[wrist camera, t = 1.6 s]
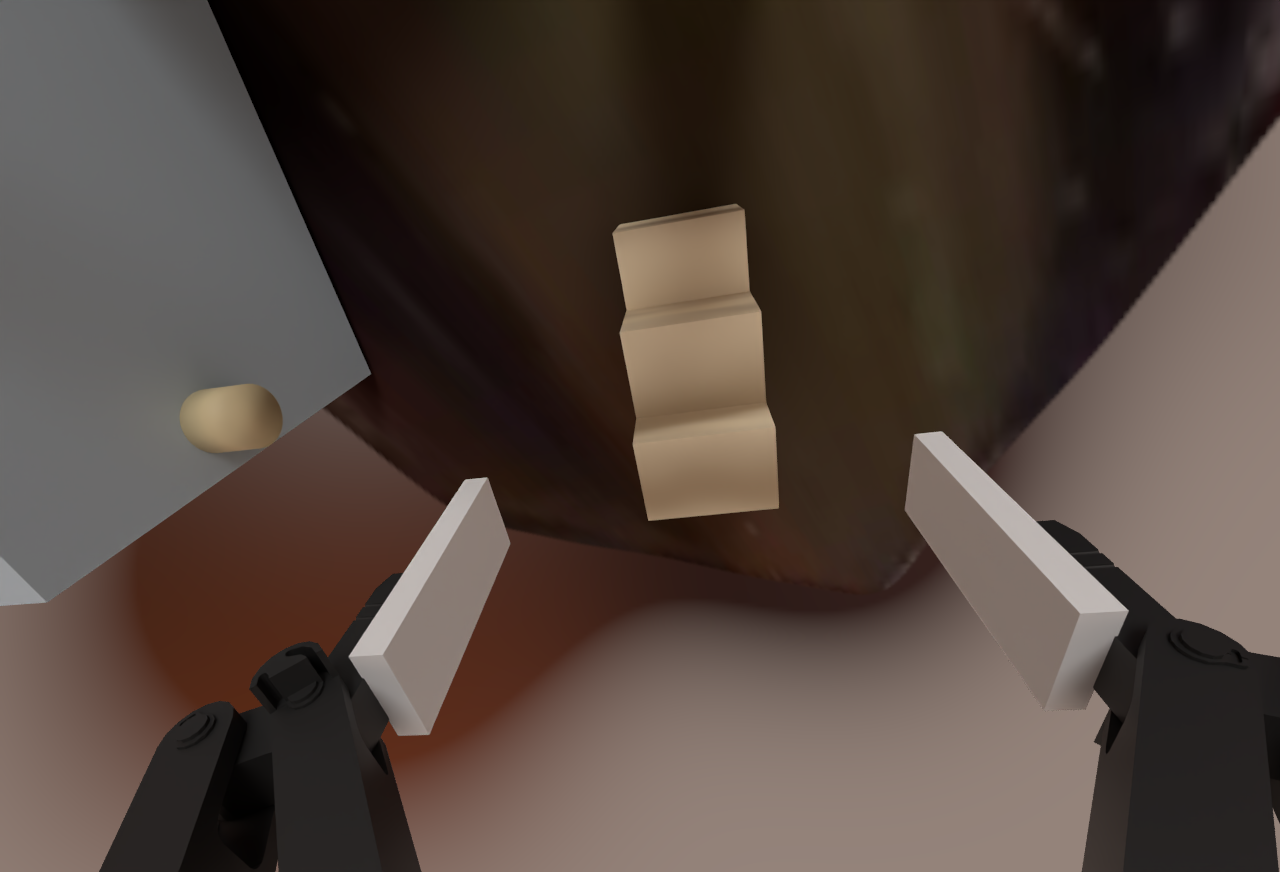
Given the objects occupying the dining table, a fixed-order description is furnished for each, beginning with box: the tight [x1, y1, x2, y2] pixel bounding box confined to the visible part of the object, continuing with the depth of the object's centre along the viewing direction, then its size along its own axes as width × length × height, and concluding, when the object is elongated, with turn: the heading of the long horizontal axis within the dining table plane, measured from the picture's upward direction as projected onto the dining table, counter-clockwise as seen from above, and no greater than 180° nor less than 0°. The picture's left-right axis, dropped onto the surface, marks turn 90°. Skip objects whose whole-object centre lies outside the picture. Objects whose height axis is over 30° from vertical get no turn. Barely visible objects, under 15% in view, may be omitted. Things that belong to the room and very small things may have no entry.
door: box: [0, 0, 371, 606], centre depth 15 cm, size 16×3×15 cm, turn 9°
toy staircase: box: [613, 204, 779, 521], centre depth 20 cm, size 10×5×8 cm, turn 10°
